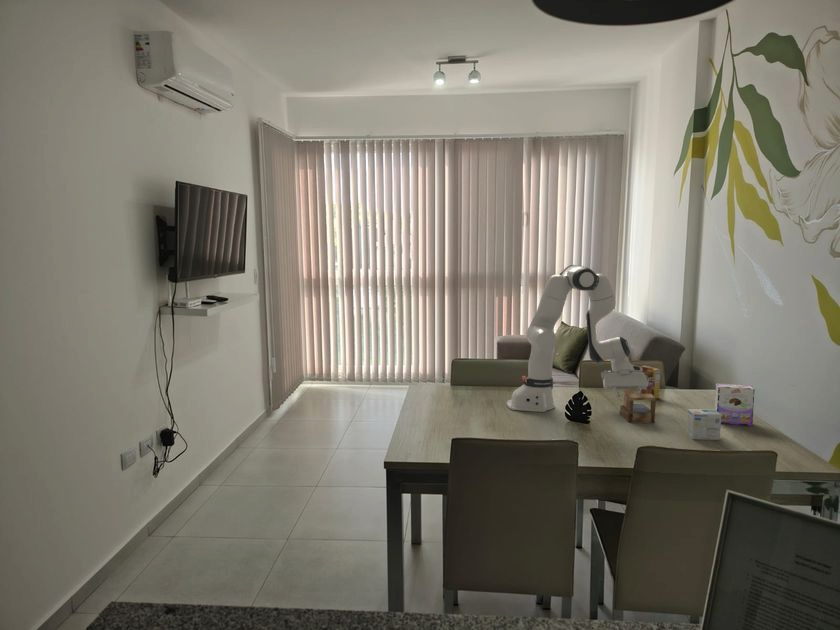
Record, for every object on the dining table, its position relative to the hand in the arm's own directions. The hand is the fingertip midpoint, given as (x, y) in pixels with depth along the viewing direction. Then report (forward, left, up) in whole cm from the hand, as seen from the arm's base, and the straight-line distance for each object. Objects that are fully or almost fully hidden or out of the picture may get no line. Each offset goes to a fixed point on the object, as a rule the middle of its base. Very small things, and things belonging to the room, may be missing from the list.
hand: (628, 396), depth 251 cm
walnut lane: (0, -12, -6) cm, 14 cm away
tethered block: (0, -8, -6) cm, 10 cm away
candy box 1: (+18, +22, -7) cm, 29 cm away
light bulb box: (+18, -35, -7) cm, 40 cm away
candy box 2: (+39, -17, -7) cm, 43 cm away
